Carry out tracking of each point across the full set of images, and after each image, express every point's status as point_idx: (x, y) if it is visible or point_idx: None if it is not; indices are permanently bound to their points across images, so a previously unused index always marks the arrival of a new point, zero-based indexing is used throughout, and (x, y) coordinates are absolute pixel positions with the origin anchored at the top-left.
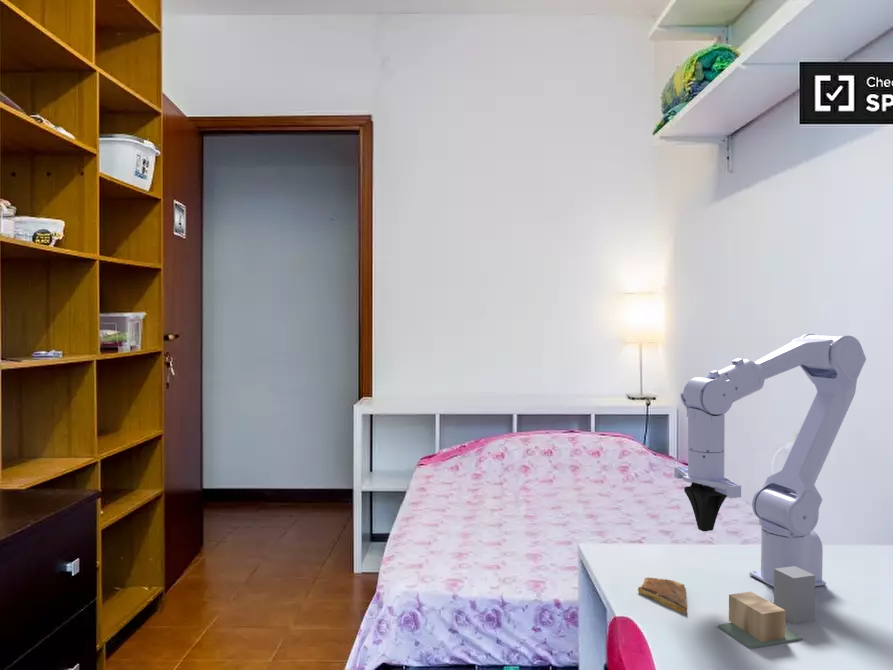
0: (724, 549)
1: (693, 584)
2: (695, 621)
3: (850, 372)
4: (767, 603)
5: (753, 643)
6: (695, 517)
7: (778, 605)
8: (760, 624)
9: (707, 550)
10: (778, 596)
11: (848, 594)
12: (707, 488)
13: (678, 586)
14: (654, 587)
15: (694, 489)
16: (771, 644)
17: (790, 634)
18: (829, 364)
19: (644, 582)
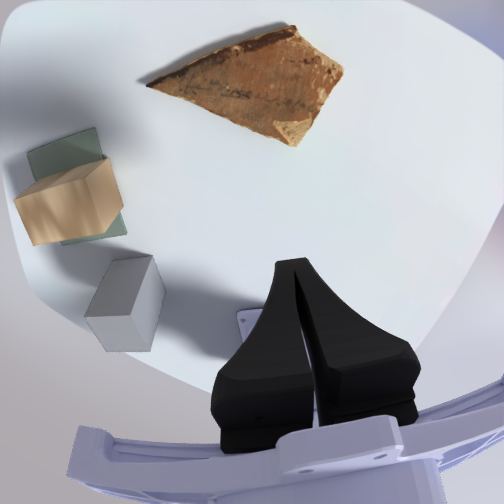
0: (424, 313)
1: (311, 179)
2: (120, 92)
3: None
4: (54, 232)
5: (34, 162)
6: (318, 278)
7: (137, 268)
8: (27, 189)
9: (436, 289)
10: (133, 279)
11: (217, 370)
12: (263, 439)
13: (271, 121)
14: (277, 58)
15: (310, 395)
16: None
17: None
18: None
19: (318, 52)
